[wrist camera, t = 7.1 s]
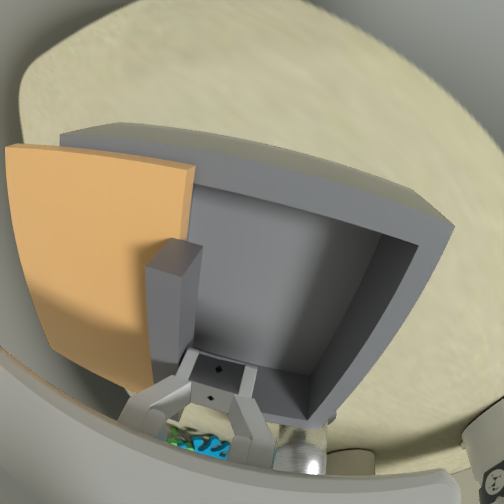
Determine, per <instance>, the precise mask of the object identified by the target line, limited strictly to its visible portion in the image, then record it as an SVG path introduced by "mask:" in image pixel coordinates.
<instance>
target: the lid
mask: <svg viewBox="0 0 504 504" xmlns="http://www.w3.org/2000/svg"><path fill="white" fill-rule="evenodd" d="M5 157H6V175H7V187H8V195H9V203H10V211H11V217H12V223H13V229H14V234H15V239H16V243H17V248H18V252H19V257H20V261H21V264H22V268H23V272H24V275H25V279H26V282H27V286H28V289H29V292H30V295H31V298H32V301H33V304H34V307H35V310H36V313H37V315H38V318H39V320H40V323H41V326H42V328H43V331H44V333H45V336H46V338H47V340H48V342H49V345H50V347H51V349H52V350H54V351H56V352H57V353H59V354H61V355H62V356H64V357H66V358H67V359H69V360H71V361H73V362H75V363H76V364H78V365H80V366H82V367H84V368H86V369H87V370H89V371H91V372H93V373H95V374H97V375H99V376H101V377H103V378H105V379H107V380H109V381H111V382H114V383H116V384H118V385H120V386H122V387H124V388H127V389H129V390H131V391H134V392H136V393H140V392H142V391H143V390H145V389H147V388H149V387H151V386H153V385H154V384H156V383H158V382H160V381H162V380H163V379H165V378H167V377H169V376H171V375H174V376H175V375H176V373H177V371H178V368H179V366H180V364H181V362H182V360H183V358H184V355H185V353H186V351H187V349H188V348H189V347H190V348H193V339H194V328H195V317H196V307H197V297H198V288H199V279H200V270H201V262H202V254H203V246H202V245H198V244H195V243H191V242H187V233H188V223H189V214H190V206H191V197H192V189H193V182H194V174H195V167H196V165H191V164H186V163H180V162H175V161H169V160H163V159H157V158H151V157H145V156H138V155H131V154H124V153H117V152H109V151H101V150H93V149H83V148H73V147H62V146H49V145H34V144H14V145H10V146H7V147H5ZM184 408H185V407H184ZM184 408H183V409H182V410H180V411H179V412H178V413H176V414H175V415H173V416H172V417H171V418H169V419H172V420H175V421H178V422H179V420H180V418H181V415H182V413H183V410H184Z"/></svg>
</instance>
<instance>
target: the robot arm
mask: <svg viewBox="0 0 504 504" xmlns="http://www.w3.org/2000/svg"><path fill="white" fill-rule="evenodd" d="M256 374H257V366H253V365H249V364H245V363H242V362H238V361H234V360H230V359H227V358H221V357H218V356H215V355H212V354H209V353H206V352H203V351H200V350H197V349H194V348H190V347H189V348H188V349H187V351H186V353H185V355H184V358H183V360H182V362H181V364H180V366H179V368H178V371H177V373H176V375H175V376H174V375H171V376H169V377H167V378H165V379H163V380H162V381H160V382H158V383H156V384H154V385H153V386H151V387H149V388H147V389H145V390H143V391H142V392H140V393H138V394H136V395H134V396H132V397H130V398H129V400H128V402H127V404H126V406H125V407H124V409H123V411H122V413H121V415H120V417H119V419H118V420H117V421H115V420H113V419H111V418H109V417H107V416H105V415H103V414H101V413H99V412H97V411H95V410H93V409H91V408H89V407H88V406H86V405H84V404H82V403H81V402H79V401H77V400H75V399H74V398H72V397H70V396H69V395H67V394H65V393H63V392H62V391H61V390H59V389H58V388H56V387H54V386H53V385H51V384H50V383H48V382H47V381H45V380H44V379H43V378H41V377H40V376H38V375H37V374H35V373H34V372H33V371H31V370H30V369H29V368H27V367H26V366H24V365H23V364H22V363H21V362H19V361H18V360H17V359H15V358H14V357H13V356H12V355H11V354H9V353H8V352H7V351H6V350H5V349H3V348H2V347H1V346H0V504H461V493H460V488H459V485H458V484H457V482H456V481H455V480H454V479H453V478H452V476H451V475H450V474H449V473H448V472H447V471H446V470H445V469H442V468H438V469H432V470H425V471H418V472H410V473H401V474H389V475H369V476H338V475H318V474H305V473H296V472H287V471H280V470H273V469H271V468H272V462H273V456H274V450H275V443H276V442H275V440H274V438H273V436H272V434H271V432H270V430H269V428H268V426H267V424H266V422H265V420H264V418H263V415H262V413H261V411H260V409H259V407H258V405H257V403H256V401H255V399H253V398H251V397H252V392H253V388H254V383H255V378H256ZM190 402H191V403H194V404H197V405H201V406H205V407H208V408H211V409H215V410H218V411H221V412H225V413H228V417H229V420H230V423H231V426H232V429H233V431H234V434H235V437H234V438H233V440H232V443H231V445H230V447H229V449H228V451H227V453H226V456H225V460H223V459H219V458H215V457H212V456H208V455H204V454H201V453H198V452H194V451H191V450H188V449H185V448H182V447H179V446H176V445H173V444H170V443H167V442H166V440H167V437H168V434H167V427H166V420H168V419H169V418H171V417H172V416H173V415H175V414H176V413H178V412H179V411H180V410H182V409H183V408H184V407H186V406H187V405H188V404H190ZM461 437H462V439H463V442H462V443H461V448H462V449H466V452H467V455H468V458H469V462H470V465H471V468H472V472H473V475H474V478H475V480H476V481H479V483H480V485H481V488H480V489H479V497H480V498H479V501H480V504H491V503H492V504H504V498H503V497H504V399H502V400H501V401H499V402H498V403H496V404H495V405H493V406H492V407H491V408H489V409H488V410H487V411H485V412H484V413H483V414H482V415H480V416H479V417H478V418H477V419H475V420H474V421H473V422H472V423H471V424H470V425H469V426H468V427H467V428H466V429H465V430H464V432H463V433H462V436H461ZM501 498H502V499H501ZM499 499H500V500H499ZM497 500H498V501H497ZM495 501H496V502H495ZM493 502H494V503H493Z"/></svg>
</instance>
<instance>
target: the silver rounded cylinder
mask: <svg viewBox="0 0 504 504" xmlns="http://www.w3.org/2000/svg"><path fill="white" fill-rule="evenodd" d="M335 418H336V411H335V412H334V413H333V415H332V416H331V417H330V418H329V419H328V420H327V421H326V422H325V423H324V424H323V425H322V426H321V427H320V428H319V429H318V430H314V429H306V428H299V427H293V426H287V425H281V424H279V430H278V437H277V443H276V450H275V456H274V463H273V470H280V471H287V472H296V473H305V474H318V475H326V458H327V432H328V424H330V423H332V422H333V421H334V420H335Z"/></svg>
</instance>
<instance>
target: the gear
mask: <svg viewBox="0 0 504 504" xmlns="http://www.w3.org/2000/svg"><path fill="white" fill-rule="evenodd" d="M171 430H172V433H173V437H169V438H168V439H167V442H168V443H170V444H173V445H176V446H179V447H182V448H185V449H188V450H191V451H194V452H198V453H201V454H204V455H208V456H212V457H215V458H219V459H223V460H225V456H226V454H220V453H221V452H223V451H225V452H227V451H228V449H229V447H230V443H229V442H225V443H223V444H222V445H221V446H219V447H217V448H212V447H214V446H218V445H219V444H220V443H221V441H220V440H219V439H218V438H217V437H216V436H211V437H210V438H209V441H208V443H207V444H206V445H204V446H203V447H201V448H198V447H199V446H201V445H202V444H203V443H204V441H203V439H202V437H200V436H193V437H192V441H193V442H189V441H188V440H186V439H185V438H184V437H183V436H182V435H180V434H178V431H177V429H176V428H172V429H171ZM211 448H212V449H211Z"/></svg>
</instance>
